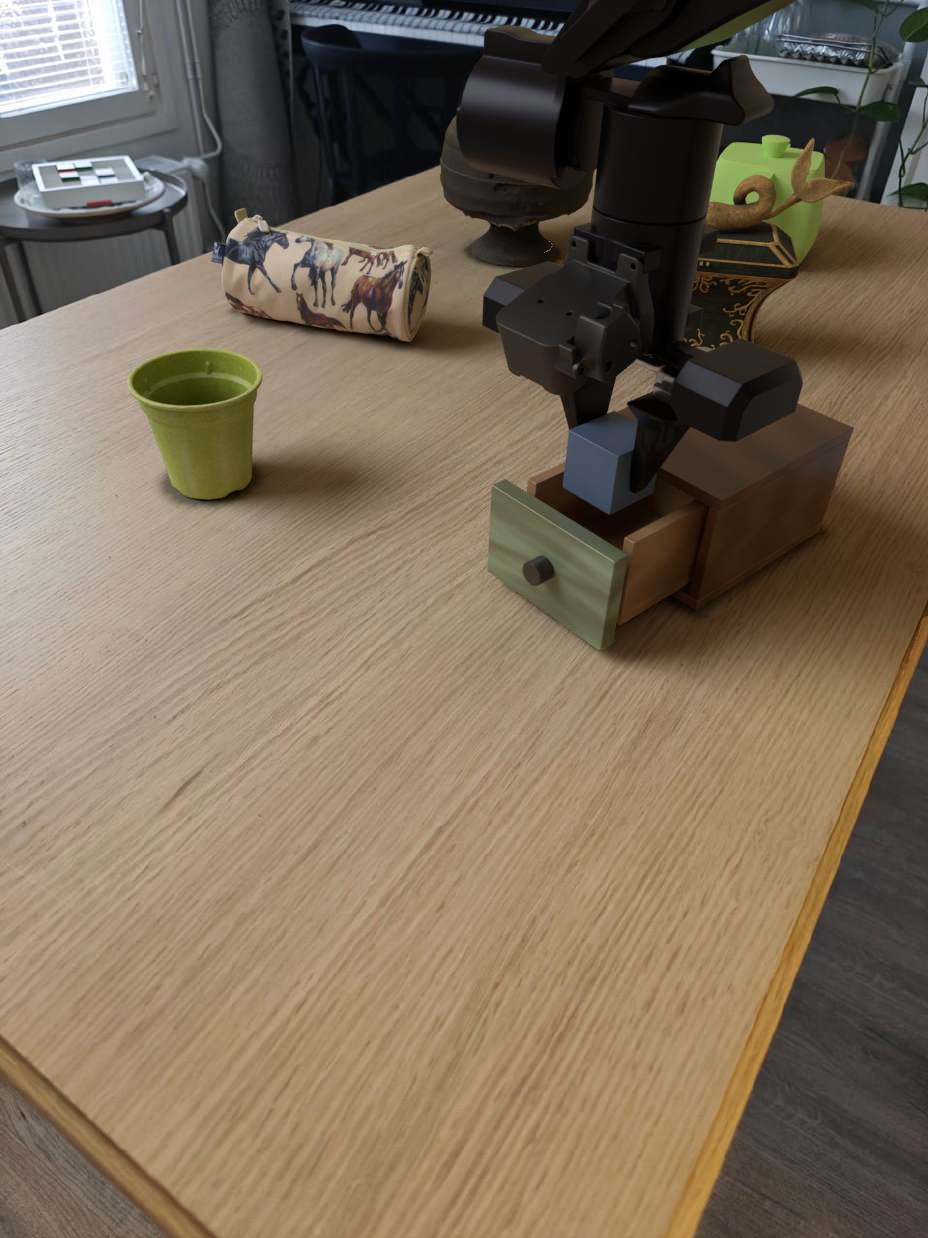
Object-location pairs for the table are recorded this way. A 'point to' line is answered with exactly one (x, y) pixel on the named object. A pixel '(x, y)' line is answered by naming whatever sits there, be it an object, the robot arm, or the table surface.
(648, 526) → the drawer
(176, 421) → the plant pot
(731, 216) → the decorative box
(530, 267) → the robot arm
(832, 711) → the table surface
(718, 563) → the cabinet
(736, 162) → the teapot
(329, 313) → the pencil case
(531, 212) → the pot
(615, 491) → the block
